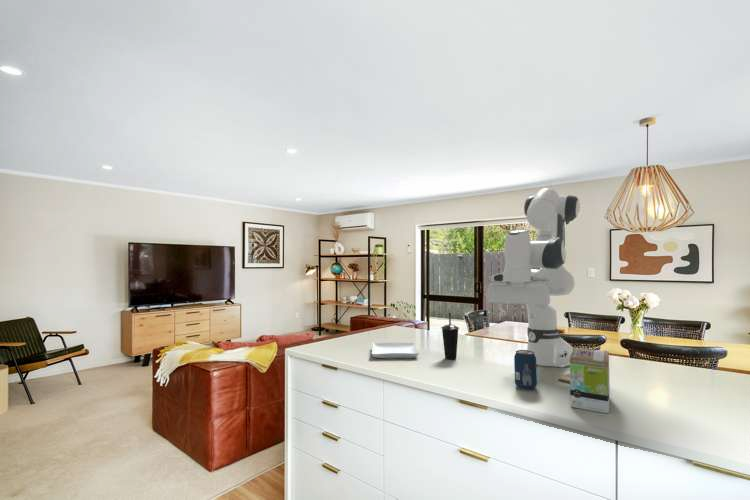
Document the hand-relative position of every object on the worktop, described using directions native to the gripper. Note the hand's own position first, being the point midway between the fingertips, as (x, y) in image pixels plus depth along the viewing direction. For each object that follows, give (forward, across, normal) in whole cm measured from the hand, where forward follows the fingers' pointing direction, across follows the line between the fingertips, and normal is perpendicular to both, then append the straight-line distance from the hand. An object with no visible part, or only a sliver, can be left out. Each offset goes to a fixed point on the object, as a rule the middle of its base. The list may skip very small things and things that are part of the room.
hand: (517, 317), depth 130 cm
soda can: (+24, -2, 0) cm, 24 cm away
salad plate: (+24, +57, -25) cm, 67 cm away
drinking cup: (+24, +31, -27) cm, 48 cm away
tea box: (+24, -21, +6) cm, 32 cm away
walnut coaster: (+23, -19, -15) cm, 33 cm away
